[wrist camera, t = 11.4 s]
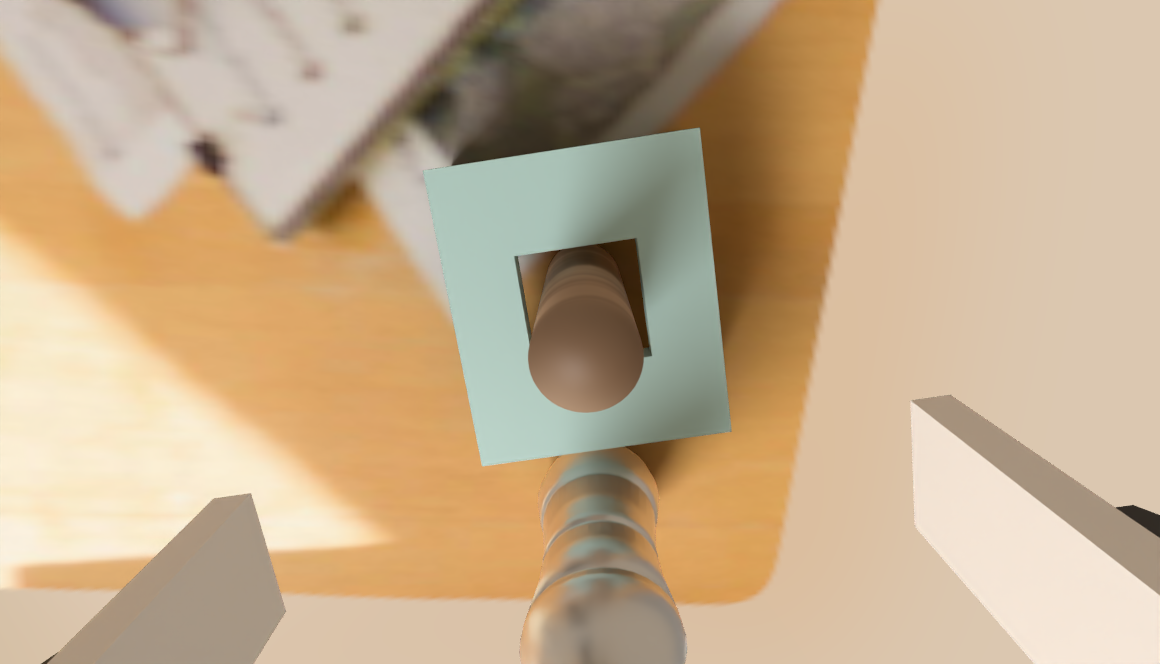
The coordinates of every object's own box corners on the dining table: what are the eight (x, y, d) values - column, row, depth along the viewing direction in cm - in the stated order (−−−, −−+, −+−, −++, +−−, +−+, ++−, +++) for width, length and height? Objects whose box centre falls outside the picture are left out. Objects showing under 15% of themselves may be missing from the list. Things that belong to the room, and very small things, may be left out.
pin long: (540, 248, 39) (518, 310, 24) (614, 237, 39) (635, 293, 24) (552, 319, 40) (538, 420, 25) (624, 309, 40) (650, 404, 25)
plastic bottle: (663, 517, 43) (732, 822, 24) (553, 539, 43) (532, 857, 24) (642, 418, 41) (697, 659, 22) (527, 442, 42) (483, 699, 22)
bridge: (450, 165, 38) (422, 170, 31) (678, 130, 37) (699, 127, 31) (498, 413, 41) (482, 466, 35) (706, 383, 41) (731, 431, 34)
